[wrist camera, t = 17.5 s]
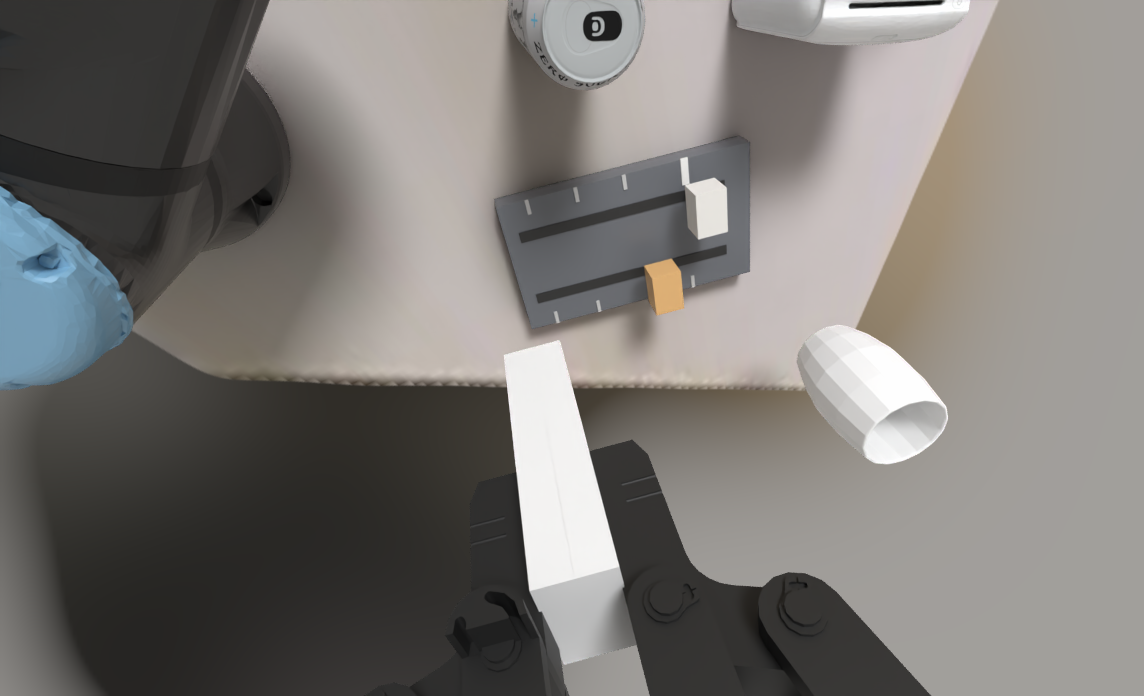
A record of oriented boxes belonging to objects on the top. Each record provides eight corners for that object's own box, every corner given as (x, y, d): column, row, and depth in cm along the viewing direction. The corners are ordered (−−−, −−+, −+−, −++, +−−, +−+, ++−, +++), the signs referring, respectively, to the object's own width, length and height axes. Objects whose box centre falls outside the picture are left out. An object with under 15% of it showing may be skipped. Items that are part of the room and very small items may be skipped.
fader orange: (642, 290, 49) (656, 315, 45) (638, 256, 47) (652, 278, 43) (668, 284, 49) (684, 308, 45) (664, 249, 47) (680, 271, 43)
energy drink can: (502, -44, 35) (523, -52, 23) (592, -47, 36) (659, -56, 24) (511, 59, 39) (533, 100, 27) (593, 54, 39) (651, 92, 27)
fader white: (680, 219, 45) (698, 239, 42) (676, 177, 43) (695, 195, 40) (707, 211, 45) (727, 231, 42) (705, 170, 43) (726, 187, 40)
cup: (755, 333, 57) (876, 483, 40) (721, 291, 53) (839, 438, 37) (814, 289, 55) (968, 429, 38) (783, 243, 51) (939, 375, 35)
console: (530, 318, 51) (532, 330, 50) (494, 197, 44) (495, 207, 42) (740, 263, 52) (750, 273, 50) (739, 134, 45) (750, 141, 43)
